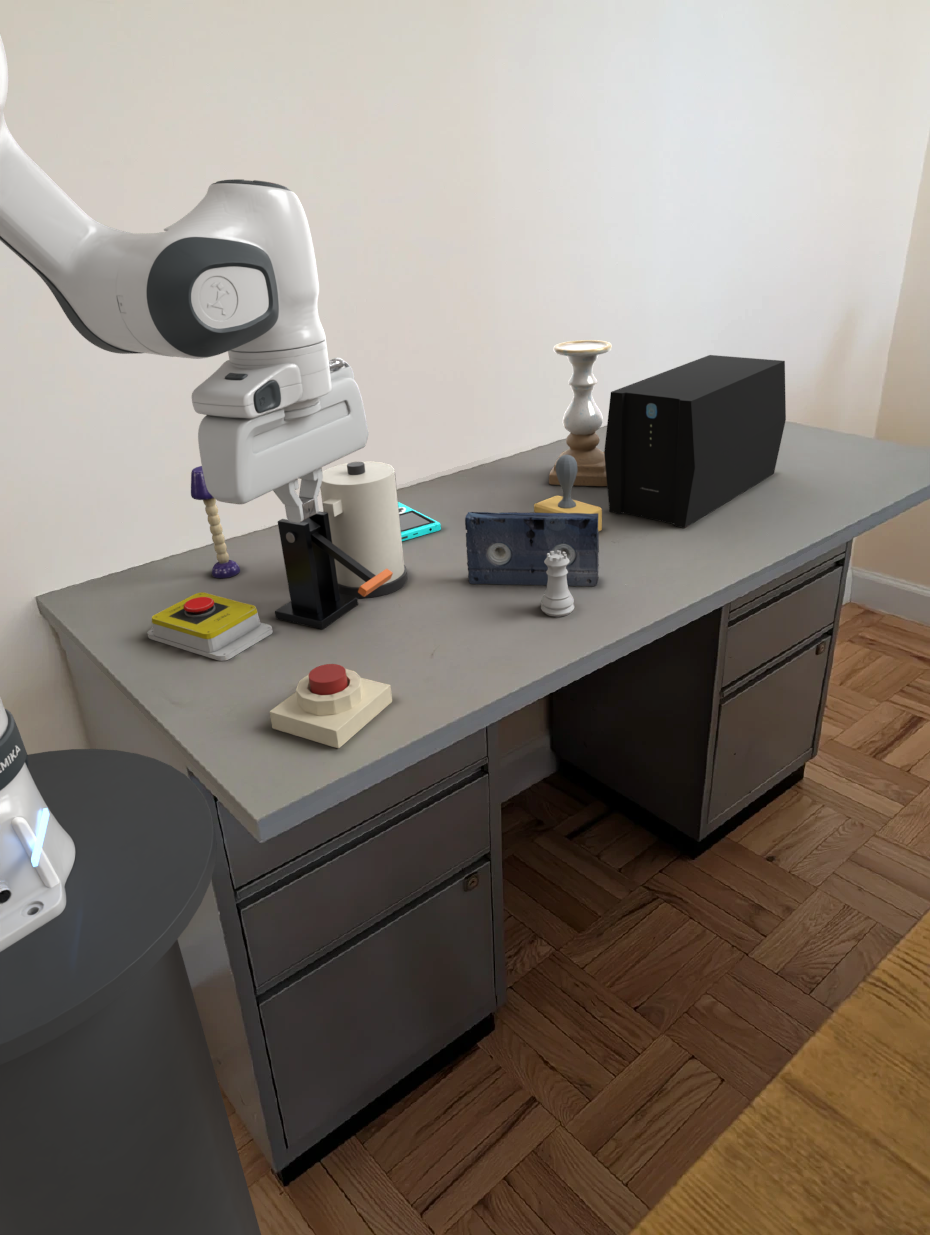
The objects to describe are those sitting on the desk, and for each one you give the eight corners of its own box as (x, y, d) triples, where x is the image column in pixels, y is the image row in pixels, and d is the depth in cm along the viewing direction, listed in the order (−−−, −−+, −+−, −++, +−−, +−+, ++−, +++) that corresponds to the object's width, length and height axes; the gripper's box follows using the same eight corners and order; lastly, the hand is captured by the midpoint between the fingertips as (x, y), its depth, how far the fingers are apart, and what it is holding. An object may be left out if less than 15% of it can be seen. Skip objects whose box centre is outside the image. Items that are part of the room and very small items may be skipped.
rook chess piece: (566, 620, 115) (565, 563, 112) (535, 614, 117) (533, 558, 114) (580, 606, 119) (579, 550, 115) (549, 600, 121) (548, 545, 117)
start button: (332, 699, 94) (330, 685, 94) (303, 691, 96) (300, 677, 96) (355, 682, 97) (353, 668, 97) (325, 674, 99) (323, 660, 99)
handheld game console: (395, 505, 159) (395, 498, 159) (443, 529, 147) (442, 522, 146) (345, 518, 154) (344, 511, 154) (390, 545, 142) (389, 537, 142)
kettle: (373, 607, 122) (358, 483, 114) (310, 594, 127) (291, 475, 119) (428, 568, 133) (418, 452, 125) (368, 557, 138) (354, 445, 130)
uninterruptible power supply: (603, 510, 150) (604, 390, 141) (702, 458, 172) (708, 352, 163) (691, 529, 140) (698, 402, 131) (784, 472, 162) (795, 359, 153)
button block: (338, 748, 93) (333, 716, 91) (272, 728, 97) (266, 697, 95) (392, 701, 100) (389, 670, 98) (328, 684, 104) (324, 654, 103)
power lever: (389, 582, 117) (394, 569, 116) (362, 601, 113) (368, 587, 111) (308, 523, 120) (313, 509, 119) (279, 538, 116) (284, 524, 114)
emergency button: (191, 580, 123) (270, 600, 116) (198, 609, 125) (276, 630, 118) (137, 607, 117) (217, 631, 109) (144, 637, 119) (224, 662, 111)
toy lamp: (228, 581, 134) (206, 473, 126) (202, 578, 135) (179, 472, 128) (245, 568, 137) (225, 463, 130) (220, 565, 139) (199, 462, 132)
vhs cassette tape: (599, 579, 126) (599, 512, 122) (597, 587, 123) (598, 520, 119) (471, 575, 130) (467, 510, 125) (467, 583, 127) (463, 518, 123)
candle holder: (608, 486, 161) (609, 350, 150) (548, 484, 164) (545, 351, 153) (616, 468, 170) (618, 338, 160) (559, 466, 173) (557, 339, 163)
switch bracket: (358, 604, 123) (346, 510, 117) (322, 629, 117) (307, 531, 111) (312, 595, 127) (298, 503, 121) (275, 618, 121) (258, 523, 115)
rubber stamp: (533, 525, 146) (531, 453, 141) (557, 515, 150) (556, 445, 144) (578, 539, 139) (578, 465, 134) (603, 529, 143) (603, 456, 137)
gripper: (324, 352, 91) (341, 482, 98) (175, 399, 76) (207, 550, 82) (374, 354, 88) (389, 488, 95) (231, 403, 73) (259, 560, 79)
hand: (303, 517), depth 88 cm, fingers closed
